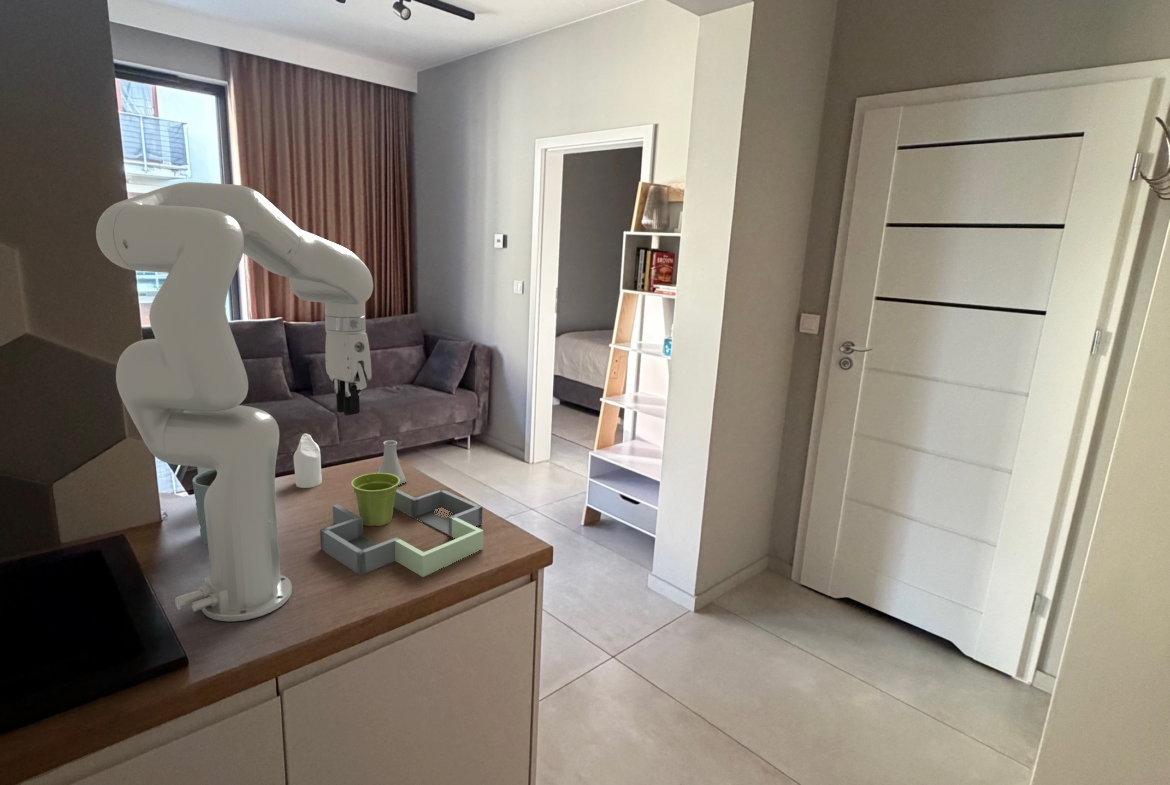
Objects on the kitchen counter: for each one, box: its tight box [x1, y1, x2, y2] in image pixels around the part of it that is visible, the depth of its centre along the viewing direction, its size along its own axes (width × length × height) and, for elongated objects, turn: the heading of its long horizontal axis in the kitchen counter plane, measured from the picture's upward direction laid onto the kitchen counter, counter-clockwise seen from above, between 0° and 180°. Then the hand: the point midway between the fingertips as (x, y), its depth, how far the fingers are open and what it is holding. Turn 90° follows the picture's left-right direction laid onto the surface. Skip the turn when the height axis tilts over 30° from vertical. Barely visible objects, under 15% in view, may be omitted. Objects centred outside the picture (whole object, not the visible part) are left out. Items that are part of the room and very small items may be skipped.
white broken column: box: [293, 433, 323, 489], centre depth 142 cm, size 6×12×6 cm
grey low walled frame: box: [319, 488, 484, 578], centre depth 120 cm, size 28×29×4 cm
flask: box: [377, 440, 407, 486], centre depth 146 cm, size 7×7×10 cm
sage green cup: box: [191, 469, 217, 546], centre depth 116 cm, size 10×10×12 cm
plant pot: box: [350, 472, 400, 527], centre depth 126 cm, size 9×9×9 cm
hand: (348, 412), depth 128 cm, fingers closed
